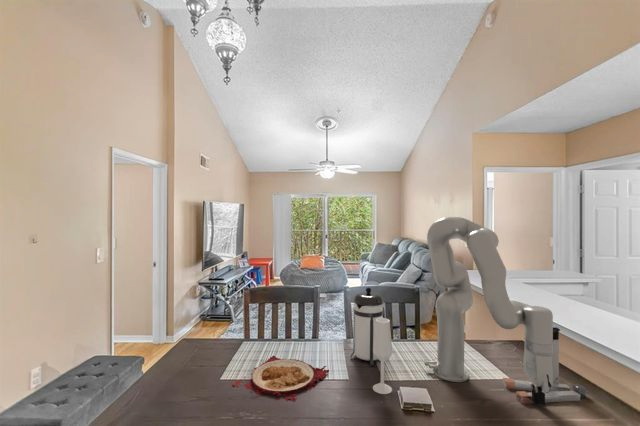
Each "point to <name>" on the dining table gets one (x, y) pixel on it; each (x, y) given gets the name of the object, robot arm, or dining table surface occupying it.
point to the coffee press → (366, 324)
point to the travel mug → (555, 355)
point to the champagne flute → (382, 350)
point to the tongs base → (526, 385)
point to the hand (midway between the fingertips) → (538, 403)
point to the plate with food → (284, 377)
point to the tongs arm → (549, 396)
